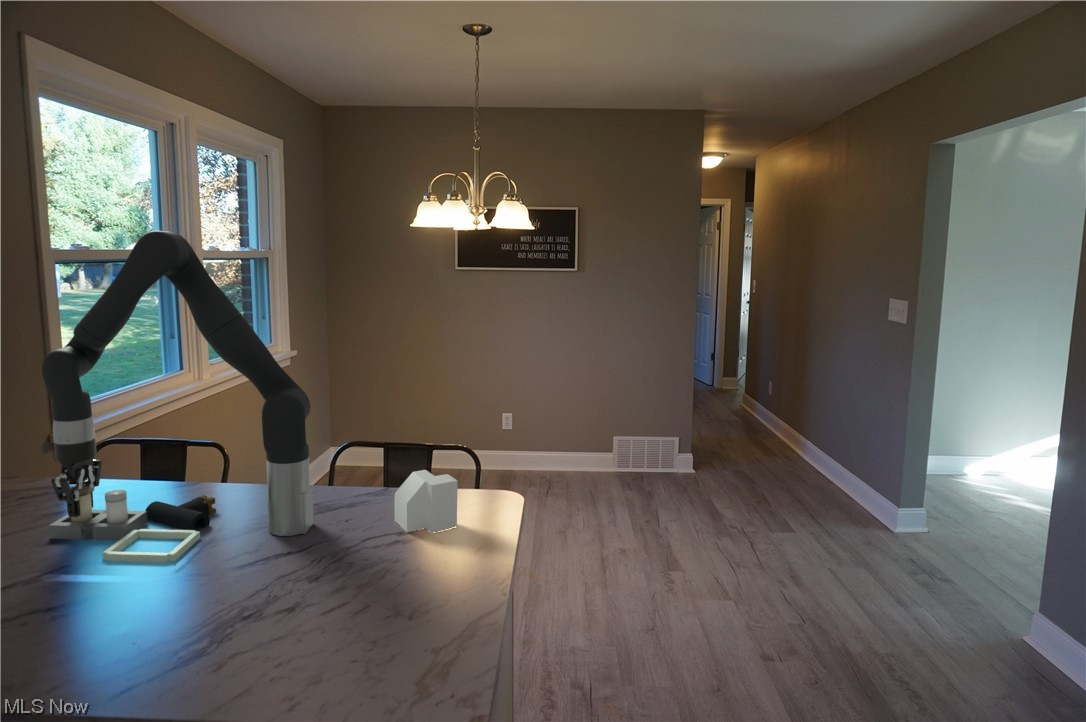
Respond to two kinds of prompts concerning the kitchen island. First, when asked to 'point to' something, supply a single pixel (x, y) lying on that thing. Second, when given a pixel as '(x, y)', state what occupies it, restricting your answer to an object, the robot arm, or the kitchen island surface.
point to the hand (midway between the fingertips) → (81, 511)
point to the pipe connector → (182, 513)
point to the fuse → (116, 506)
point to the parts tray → (116, 555)
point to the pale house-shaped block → (426, 502)
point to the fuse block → (97, 527)
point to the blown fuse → (84, 505)
